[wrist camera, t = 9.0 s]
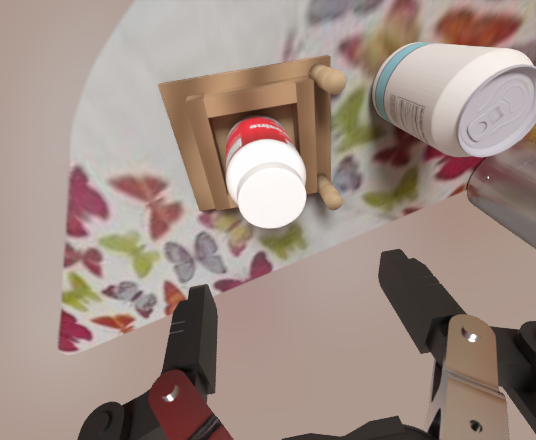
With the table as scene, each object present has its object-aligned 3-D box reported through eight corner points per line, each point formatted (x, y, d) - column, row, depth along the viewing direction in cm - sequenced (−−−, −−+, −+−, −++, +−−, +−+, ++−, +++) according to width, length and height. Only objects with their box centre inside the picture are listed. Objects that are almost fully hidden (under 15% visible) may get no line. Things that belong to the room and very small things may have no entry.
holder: (326, 55, 25) (352, 61, 20) (328, 183, 32) (346, 211, 28) (160, 83, 24) (144, 97, 20) (200, 206, 32) (196, 239, 27)
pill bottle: (299, 134, 28) (336, 186, 19) (265, 182, 30) (283, 249, 21) (246, 99, 25) (258, 139, 16) (214, 154, 28) (209, 216, 19)
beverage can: (449, 78, 28) (574, 106, 18) (393, 133, 30) (475, 184, 20) (413, 22, 24) (539, 19, 15) (353, 89, 27) (428, 124, 17)
